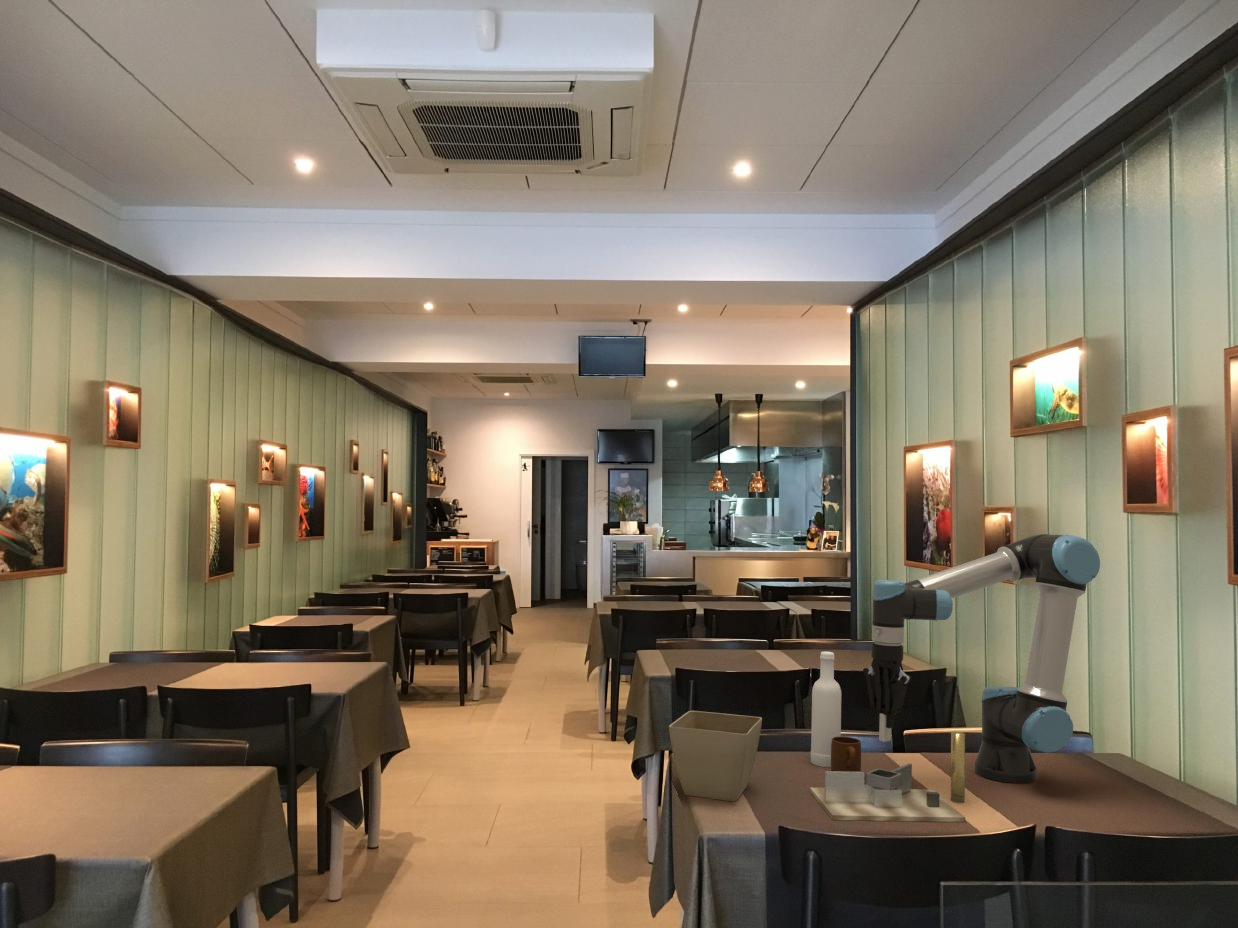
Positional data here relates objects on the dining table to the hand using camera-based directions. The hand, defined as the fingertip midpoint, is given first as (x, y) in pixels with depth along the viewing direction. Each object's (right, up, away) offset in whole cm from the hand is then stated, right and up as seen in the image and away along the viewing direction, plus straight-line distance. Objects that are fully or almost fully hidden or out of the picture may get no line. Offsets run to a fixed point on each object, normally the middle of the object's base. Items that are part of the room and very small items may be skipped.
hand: (885, 740), depth 222 cm
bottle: (-9, -14, +25) cm, 30 cm away
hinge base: (-4, -11, -11) cm, 16 cm away
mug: (-6, -14, +11) cm, 19 cm away
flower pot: (-42, -12, -2) cm, 44 cm away
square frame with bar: (0, -11, -7) cm, 13 cm away
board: (-3, -12, -10) cm, 16 cm away
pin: (+16, -13, -4) cm, 21 cm away
